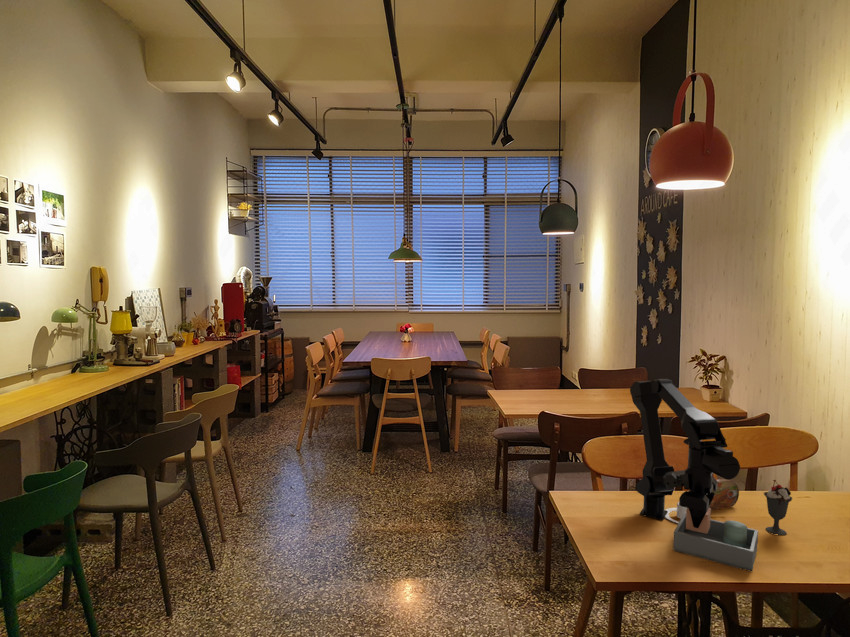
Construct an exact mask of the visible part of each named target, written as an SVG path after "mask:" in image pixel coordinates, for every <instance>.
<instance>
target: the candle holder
mask: <svg viewBox="0 0 850 637" xmlns="http://www.w3.org/2000/svg"><path fill="white" fill-rule="evenodd" d="M664 510H666V511H668V513H667V514H666V516H665V519H667V520H669V521H670V522H673V523H675V524H678V523H679V522H680V521H678V520H675V519H674V518H672V517H670V514H671V513H673V512H672V511H675V512H676V517H677V518H679V519H680V520H681V518H682V516H683V515H684V513H686V510H687V507H682V506H680V505H679V501H678V502H677V503H676V507H669V508H666V509H665V508H664ZM670 512H671V513H670ZM669 513H670V514H669Z"/></svg>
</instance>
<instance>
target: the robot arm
mask: <svg viewBox="0 0 850 637" xmlns="http://www.w3.org/2000/svg"><path fill="white" fill-rule="evenodd" d="M629 392H630V395H631V399H632V402H633V405H634V406H635V407H636V408H637V410H638V411H639V415H640V420H641V421H640V422H641V430H642V435H643V443H644V450H645V455H646V458H645V459H646V461H645V464H644V466H643V468H642V478H641V479H640V480H639V481H638V482H637V483H636V484H635V486H636V492H637V493H639V494H640V495H641V496H643V506H642V509H641V510H640V512H639V515H640V516H644V517H648V518H652V519H656V520H660V521H663V520H664V519H666V517H665V516H666V514H667V513H668V511H666V510H665V504H666V502H665V500H666V496H673V493H674V490H675V488H682V487H683V490H685V491H684V492H682V493H681V495H680V496H679V497H678V498H679V500H678V502H679V505H680V506H682V507H687V508H689V511H690V514H691V518H692V523H693V527H695V528H699V526H700V524H701V522H702V520H703V518H704V516H705V514H706V512H707V510H708V508H709V506H710V504H711V502H712V500H713V498H714V496H715V493H713V492H711V491H712V489H713V491H716V490H717V486H718V482H717V481H716V480H717V479H716V478H715V477H713V474H715V475H717V476H718V477H720V478H721V479H726V480H730V481H731V480H732V479H735V478H736V477H737V476H738V475H739V473H740V471H741V465H740V462H739V460H738V459H737V457H736V456H734V451H733V450H730V449H726V448H728V444H727V441H726V440H727V439H726V438H725V436H724V434H723V432H722V430H721V427H720V425H719V422H718V421H717V419H716V418H714V417H713V416H711V415H710V414H709V413H707V412H705V411H703V410H700V409H698V408H696V407H695V406H694V405H693V403H691V401H690V400H689V399H688V398H687V397H686V396H685V395H684V394H683V393H682V392H681V391H680V390H679V389H678V388H677V387H676V386H675V384H674V382H673V380H671V379H669V378H659V379H653V380H642V381H641V380H639V381H636V380H635V381H634V382H633V383H632V385H630V388H629ZM662 401H663V402H664V403H665V404H666V405H667V406H668V407H669V409H670V410H671V411H673V413H674V414H675V415H676V416H677V417H678V419H679V420H680V427H681V430H682V431H683V433H684V434H685V436H686V437H687V438H685V439H684V440H683V443H684V444H685V445H687V446H688V451H687V452H688V454H687V457H688V458H687V459H688V460H687V468H685V470H684V469H683V470H681V469H680V470H675V468H674V467H673V466H672V465H671V466H670V465H669V463H668V462H667V461H666V458H665V451H664V445H663V444H664V443H663V436H662V430H661V424H660V423H661V422H660V417H659V408H660V405H661V404H662Z"/></svg>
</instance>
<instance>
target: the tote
mask: <svg viewBox="0 0 850 637" xmlns="http://www.w3.org/2000/svg"><path fill="white" fill-rule="evenodd" d="M678 522H679V523H677V525H676V527H675V528H674V531H673V541H672V542H673V543H672V545H673V546H672V551H675V552H677V553H680V554H681V553H682V554H685V555H688V556H693V557H695V558H700V559H704V560H707V561H711V562H714V563H718V564H721V565H725V566H728V567H732V568H733V567H734V568H737V569H740V568H741V570H743V569H746V570H745V571H747V570H750V571H749V572H751V571H752V572H753V570H754V566H753V565H755V561H756V557H757V553H756V552H757V551H758V538H759V530H758V529H755V528H749V527H747V539H746V548H742V547H738V546H734V545H730V544H726V543H723V537H724V522H725V521H720V520H715V519H712V518H711V520H710V528H709V531H708V533H707V534H705V533H701V532H697V531H693V530H689V529H686V513H684V515H683V516H682V518H681V519H680V520H679V521H678Z"/></svg>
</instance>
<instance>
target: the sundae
mask: <svg viewBox="0 0 850 637" xmlns="http://www.w3.org/2000/svg"><path fill="white" fill-rule="evenodd" d="M775 483H776V485H775ZM791 494H792V492H791V491H790V489H789V488H787V487H786V486H785V487H783V486H782V485H781V484H778V483H777V480H776V479H773V486H771V489H769V490H768V491H765V492H763V495H764V496H765V498H766V503H767V505H766V506H767V511H768V512H767V513H768V514H769V516H770V517H771V518H772V519H773V525H772V526H767V527H766V528H765V531H766V530H767V531H768V532H767V531H766V532H767V533H769V532H770V533H769V534H771V533H773V534H772V535H774V534H778V535H777V536H779V535H784V536H787V534H788V533H787V531H786V530H784V529H783V528H780V521H781V520H783V519H784V518H786V516H787V511H788V508H789V503H790V502H792V500H793V497H792V496H791Z"/></svg>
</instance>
